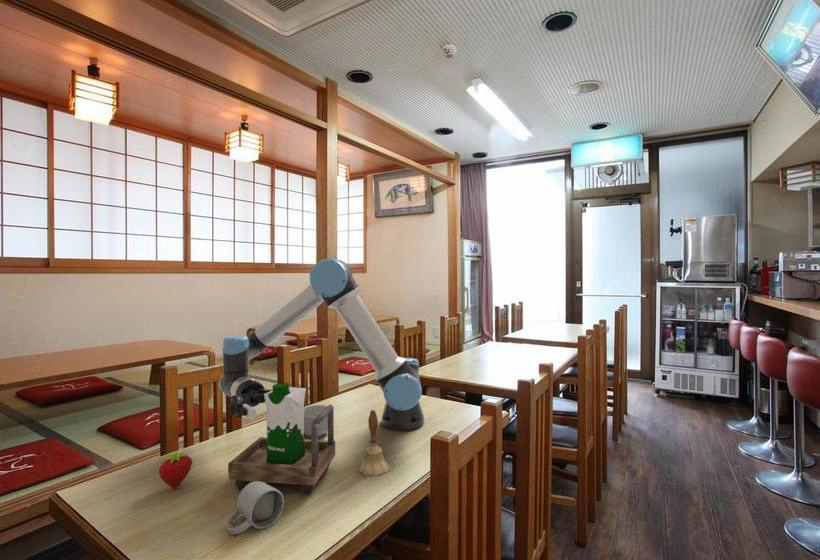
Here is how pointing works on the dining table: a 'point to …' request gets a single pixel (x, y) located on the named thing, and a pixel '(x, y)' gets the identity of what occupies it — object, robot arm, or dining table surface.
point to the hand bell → (373, 452)
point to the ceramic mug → (257, 507)
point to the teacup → (311, 414)
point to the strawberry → (175, 469)
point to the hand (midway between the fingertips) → (279, 409)
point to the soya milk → (285, 424)
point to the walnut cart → (301, 472)
